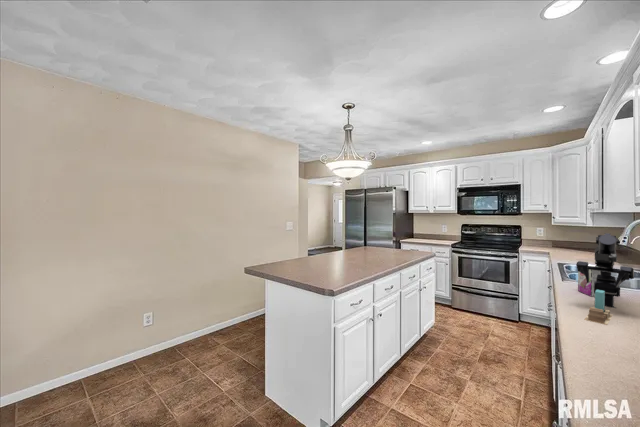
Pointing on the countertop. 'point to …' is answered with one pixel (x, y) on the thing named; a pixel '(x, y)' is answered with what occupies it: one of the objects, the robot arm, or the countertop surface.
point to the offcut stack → (596, 315)
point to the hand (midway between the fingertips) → (601, 284)
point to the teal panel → (600, 299)
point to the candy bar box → (587, 287)
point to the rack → (606, 312)
